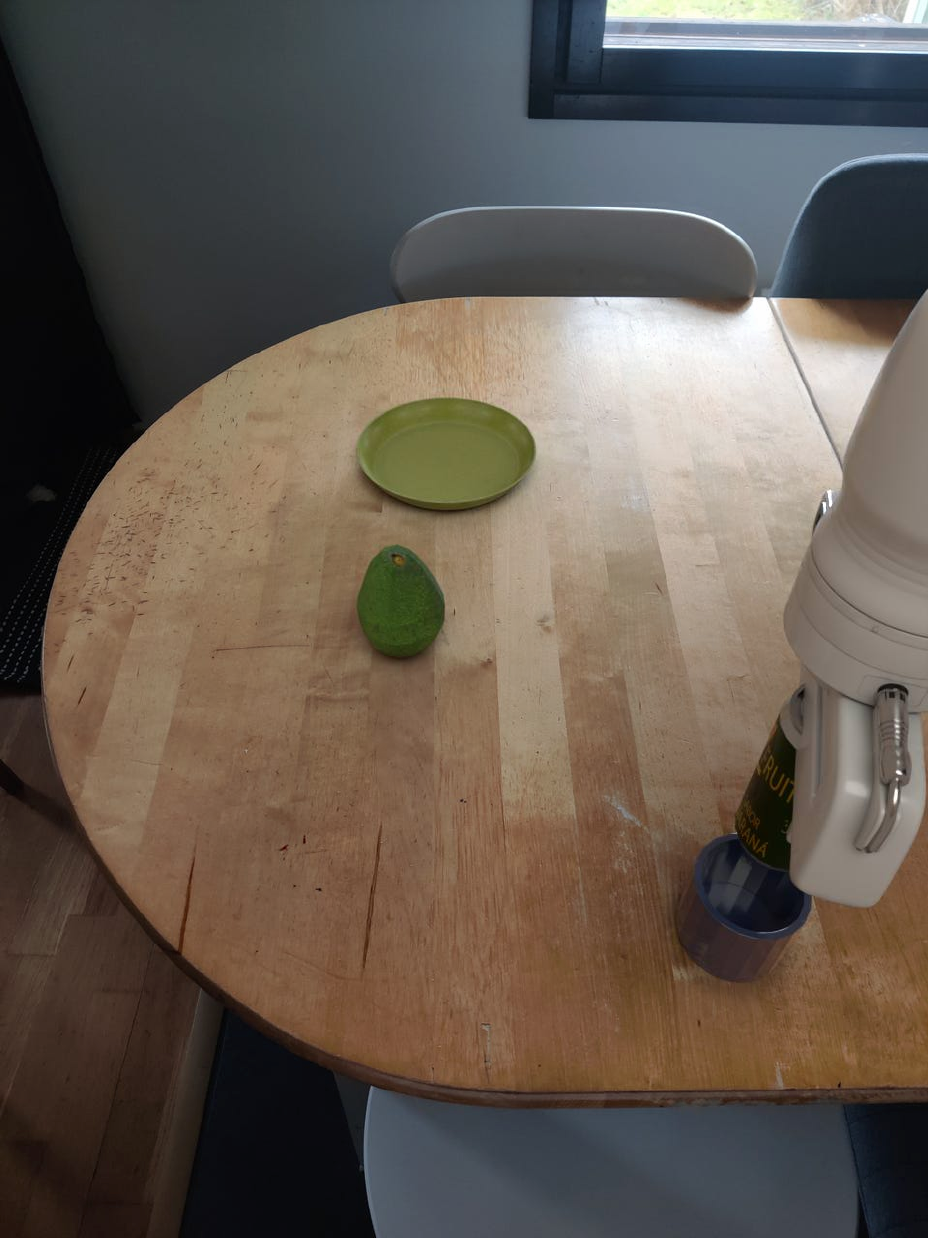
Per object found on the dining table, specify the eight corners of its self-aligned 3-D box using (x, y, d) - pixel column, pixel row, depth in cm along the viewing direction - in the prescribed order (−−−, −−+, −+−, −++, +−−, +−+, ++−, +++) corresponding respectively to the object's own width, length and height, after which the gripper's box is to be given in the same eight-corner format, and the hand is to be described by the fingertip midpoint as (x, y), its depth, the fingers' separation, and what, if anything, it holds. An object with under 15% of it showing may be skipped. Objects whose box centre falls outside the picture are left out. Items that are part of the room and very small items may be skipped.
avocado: (353, 672, 79) (340, 576, 70) (371, 611, 84) (361, 516, 76) (439, 681, 78) (436, 586, 69) (452, 620, 83) (450, 524, 75)
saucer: (330, 504, 96) (327, 480, 94) (395, 408, 110) (393, 385, 107) (508, 539, 92) (510, 516, 89) (552, 435, 105) (554, 412, 103)
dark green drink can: (794, 790, 55) (856, 667, 46) (839, 865, 51) (917, 747, 42) (716, 808, 54) (766, 685, 45) (757, 886, 50) (819, 769, 41)
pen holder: (785, 897, 64) (813, 850, 58) (780, 997, 58) (810, 955, 53) (682, 868, 65) (701, 820, 60) (668, 964, 60) (687, 919, 55)
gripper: (995, 828, 31) (865, 979, 41) (950, 494, 44) (861, 668, 54) (814, 784, 32) (730, 940, 42) (824, 472, 46) (759, 646, 56)
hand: (804, 784), depth 48 cm, fingers closed on dark green drink can, 5 cm apart
